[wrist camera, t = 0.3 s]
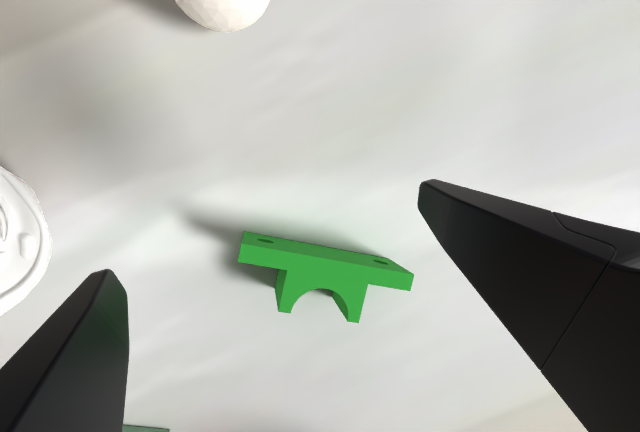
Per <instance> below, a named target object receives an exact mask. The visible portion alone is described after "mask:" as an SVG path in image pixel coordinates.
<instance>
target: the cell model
mask: <svg viewBox="0 0 640 432" xmlns="http://www.w3.org/2000/svg"><path fill="white" fill-rule="evenodd" d="M51 253H52V237H51V234H50V231H49V229H48V226H47V223H46V220H45V218H44V215H43V212H42V209H41V206H40V203H39V201H38V198H37V196H36V194H35V193H34V191H33V190H32V189H31V187H30V186H29V185H28V184H27V183H26V182H24V181H23V180H22V179H21V178H19V177H17V176H16V175H14V174H12V173H10V172H9V171H7V170H6V169H4V168H3V167H1V166H0V316H1V315H3V314H4V313H5V312H7V311H8V310H9V309H11V308H12V307H14V306H15V305H16V304H18V303H19V302H20V301H21V300H23V299H24V298H25V297H26V296H27V295H28V294H29V293H30V291H31V290H32V289H33V287H34V286H35V285H36V284H37V283H38V282H39V281H40V279H41V278H42V277H43V275H44V273H45V271H46V269H47V266H48V264H49V261H50V257H51Z"/></svg>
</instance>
